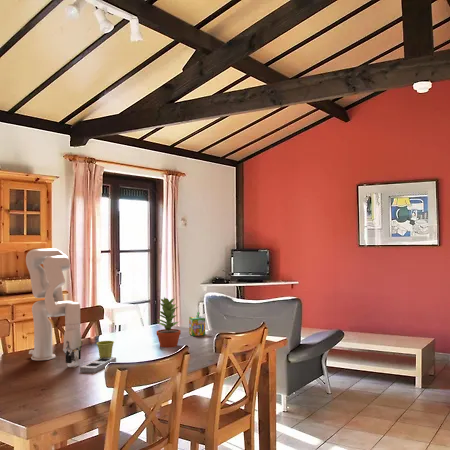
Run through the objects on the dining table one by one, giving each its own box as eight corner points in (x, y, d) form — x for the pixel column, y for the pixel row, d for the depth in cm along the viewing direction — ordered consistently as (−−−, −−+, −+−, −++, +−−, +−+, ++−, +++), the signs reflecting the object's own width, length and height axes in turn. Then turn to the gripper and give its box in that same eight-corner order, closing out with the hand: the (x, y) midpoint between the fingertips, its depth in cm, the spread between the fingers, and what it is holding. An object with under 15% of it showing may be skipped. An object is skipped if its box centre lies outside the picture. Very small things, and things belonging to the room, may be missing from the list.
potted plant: (183, 343, 320) (182, 294, 320) (178, 348, 304) (177, 297, 305) (159, 343, 321) (158, 294, 322) (153, 348, 306) (152, 297, 306)
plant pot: (96, 361, 277) (96, 344, 277) (96, 357, 286) (96, 341, 286) (114, 359, 280) (114, 343, 280) (113, 355, 289) (113, 340, 289)
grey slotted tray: (80, 372, 255) (79, 367, 255) (102, 361, 276) (102, 356, 276) (94, 373, 252) (94, 368, 252) (116, 362, 274) (115, 357, 274)
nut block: (67, 367, 266) (67, 350, 266) (71, 365, 269) (71, 348, 270) (74, 367, 264) (74, 350, 265) (78, 365, 268) (78, 349, 268)
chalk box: (188, 334, 349) (188, 311, 349) (202, 333, 352) (201, 311, 352) (192, 336, 340) (191, 313, 340) (205, 335, 343) (205, 313, 343)
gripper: (75, 323, 277) (76, 356, 276) (56, 329, 260) (57, 364, 260) (88, 323, 275) (88, 357, 274) (69, 329, 258) (70, 365, 258)
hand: (73, 360), depth 267 cm, fingers open, 7 cm apart
